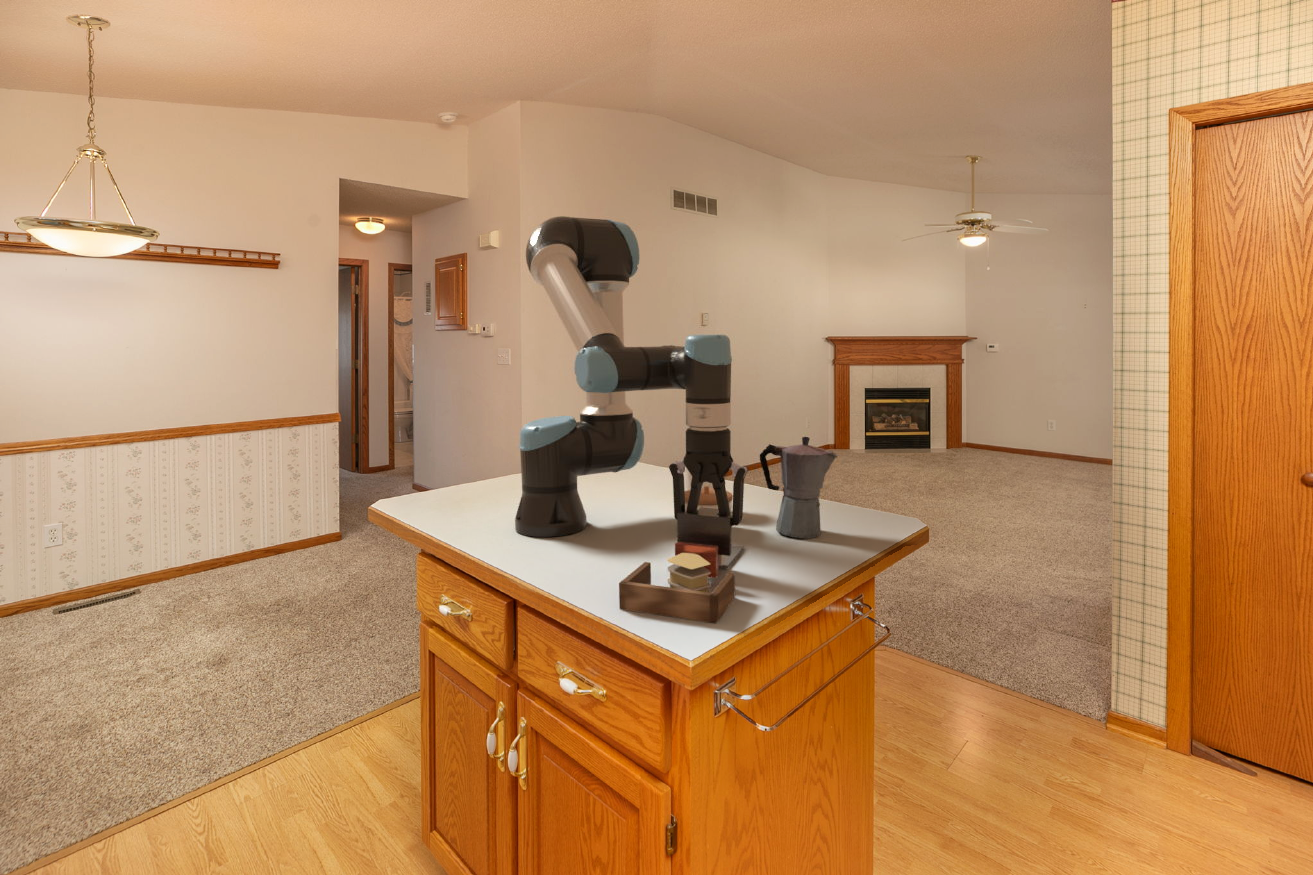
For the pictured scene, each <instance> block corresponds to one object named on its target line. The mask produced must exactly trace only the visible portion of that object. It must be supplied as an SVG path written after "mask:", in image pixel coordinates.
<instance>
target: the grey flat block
mask: <svg viewBox="0 0 1313 875" xmlns="http://www.w3.org/2000/svg"><path fill="white" fill-rule="evenodd" d="M744 550H745V546H741V545H734V544H733V545H732V544H731V555H730V556H726V561H725V562H724V563H723V565H722V566H719V565H718V569H723V570H728V569H729V568H730V567H731V566H732V564H733V563H734V562H735V561H736V559H737V558H738V557H739V556H740V555H741V554H742V552H743V551H744Z"/></svg>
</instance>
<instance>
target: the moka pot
mask: <svg viewBox="0 0 1313 875" xmlns="http://www.w3.org/2000/svg"><path fill="white" fill-rule="evenodd" d="M801 440H802V444H798V445H788V446H780V445H779V446H778V445H777V446H776V445H773V444H768V445H767V446H766V447H765V449H763V450H762V451H761V453H760V454H759V462H760V464H761V469H762V470H763V476H764V480H765V482H766V486H767V489H769V490H773V491H777V492H778V491H779V489H780V486H779V485H774V484H773V481H772V478H771V474H770V470H769V466H768V460H767V457H766V456H768V455H769V454H772V455H773V456H777V457H780V464H781V465H780V466H781V484H782V485H783V487H782V491H783V494H782V498H781V502H780V508H779V511H778V516H777V522H776V525H775V530H776V531H777V532H778V533H779V534H781V535H784V536H786V537H790V538H797V539H813V538H814V539H815V538H816V537H819V536H820V534H821V513H820V512H821V511H820V506H821V503H820V498H819V497H820V493H821V489H822V488H823V486H824V481H825V477H826V474H827V472H828V471H829V469H830V467H832V466H831V465H832V463H834V460H836V458H838V455H837V454H836V453H834V451H830V450H827V449H824V448H821V447H817V446H813V445H811V444H809V442H810V437H808V436H803V437H801Z"/></svg>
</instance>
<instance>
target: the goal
mask: <svg viewBox="0 0 1313 875" xmlns="http://www.w3.org/2000/svg"><path fill="white" fill-rule="evenodd" d="M651 563H652V562H649V561H644V562H643V563H642V564H640V565H639V566H638V567H637V568H636V569H634V570H633V571H632V572H631V573H630V574H628V575H627V576H626V577H624V578H623V579H622V580H621V581H620V582H619V583H618V593H619V594H618V595H619V596H618V600H619V604H618V605H619V609H620V610H625V611H631V612H633V611H634V612H638V613H639V612H640V613H645V614H651V615H656V616H657V615H659V616H666V617H671V618H677V619H685V620H692V621H697V622H705V623H711V624H717V623H718V622H719V620H720V619H721V618H722V616H723V615H724V613H725V612H726V611H727V609H728V608H729V606H730V605H731V604H732V602H733V601H734V600H735V598H736V595H735V594H736V573H735V572H731V571H728V572H727V573H726V574H725V576H723V578H722V580H720V582H719V583H718V585H716V587H715V588H714V590H713V591H712V592H709V591H708V592H701V591H693V590H686V589H679V588H671V587H670V586H665V585H664V586H662V585H655V584H652V574H651V572H652V570H651V569H652V566H651Z"/></svg>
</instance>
